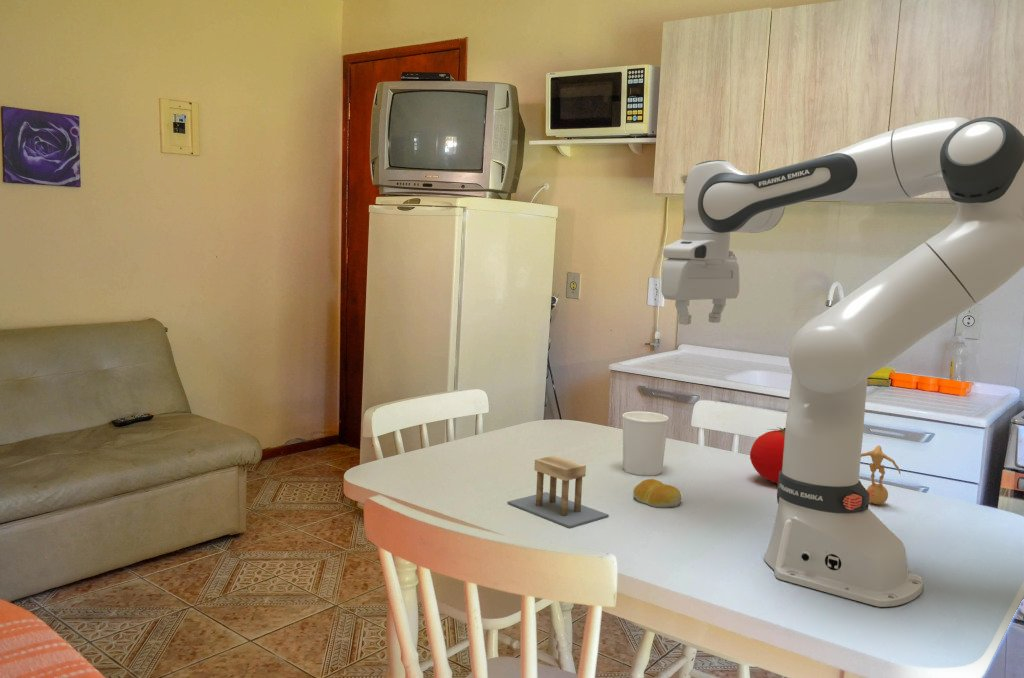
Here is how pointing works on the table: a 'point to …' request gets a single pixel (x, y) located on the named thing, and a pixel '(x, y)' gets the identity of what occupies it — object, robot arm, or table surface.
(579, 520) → the mat
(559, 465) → the stool
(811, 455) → the robot arm
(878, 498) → the figurine
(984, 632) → the table surface
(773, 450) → the tomato
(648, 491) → the bread roll
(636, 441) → the candle holder
